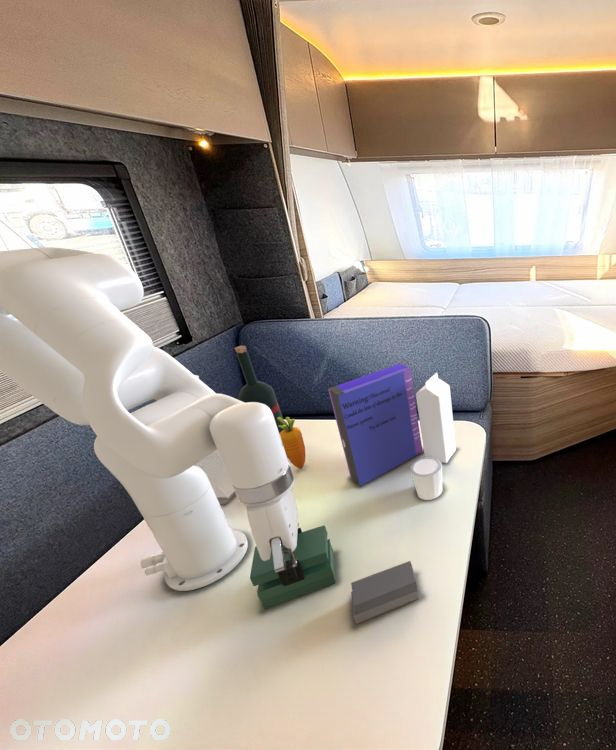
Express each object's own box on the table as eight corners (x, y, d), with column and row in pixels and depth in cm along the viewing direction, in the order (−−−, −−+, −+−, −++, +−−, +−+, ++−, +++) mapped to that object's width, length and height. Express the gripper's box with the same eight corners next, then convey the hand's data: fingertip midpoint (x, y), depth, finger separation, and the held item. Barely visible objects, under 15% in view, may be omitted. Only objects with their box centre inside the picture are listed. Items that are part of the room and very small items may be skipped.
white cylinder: (439, 503, 83) (435, 478, 80) (409, 500, 84) (404, 474, 81) (449, 482, 89) (446, 457, 86) (421, 479, 90) (417, 455, 87)
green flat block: (253, 586, 60) (249, 578, 59) (258, 554, 66) (254, 546, 65) (328, 560, 64) (325, 552, 63) (327, 532, 70) (324, 524, 69)
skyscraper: (220, 479, 93) (175, 374, 81) (253, 479, 92) (212, 373, 80) (194, 504, 85) (139, 392, 73) (229, 504, 85) (180, 392, 73)
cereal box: (412, 445, 103) (398, 362, 92) (422, 452, 100) (410, 367, 89) (350, 477, 92) (327, 388, 81) (360, 486, 88) (337, 394, 78)
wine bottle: (271, 441, 107) (236, 339, 94) (299, 447, 104) (267, 342, 91) (246, 457, 100) (204, 350, 88) (275, 465, 97) (236, 354, 84)
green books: (264, 609, 63) (256, 593, 61) (268, 576, 68) (261, 561, 66) (336, 582, 66) (330, 566, 65) (334, 554, 72) (329, 538, 70)
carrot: (316, 466, 96) (300, 414, 90) (297, 478, 92) (280, 424, 86) (304, 460, 98) (288, 409, 92) (285, 471, 95) (268, 419, 88)
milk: (425, 459, 97) (412, 381, 87) (435, 446, 102) (425, 370, 93) (447, 463, 95) (436, 384, 86) (457, 449, 100) (448, 372, 91)
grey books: (355, 624, 60) (350, 607, 58) (353, 599, 64) (348, 583, 62) (419, 598, 63) (416, 582, 62) (413, 576, 67) (410, 560, 65)
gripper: (244, 456, 64) (274, 534, 71) (224, 531, 49) (265, 619, 57) (294, 444, 66) (318, 521, 74) (289, 512, 52) (319, 599, 60)
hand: (295, 563), depth 65 cm, fingers closed on green flat block, 6 cm apart
